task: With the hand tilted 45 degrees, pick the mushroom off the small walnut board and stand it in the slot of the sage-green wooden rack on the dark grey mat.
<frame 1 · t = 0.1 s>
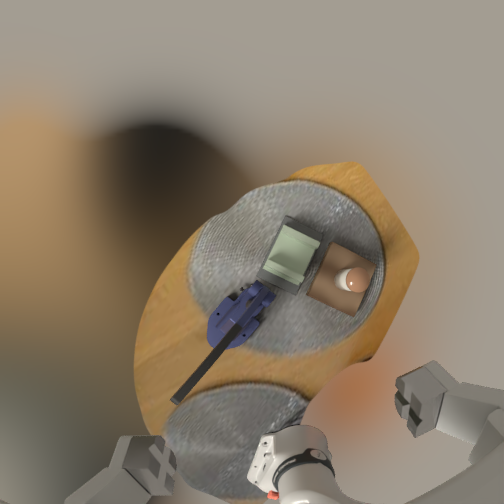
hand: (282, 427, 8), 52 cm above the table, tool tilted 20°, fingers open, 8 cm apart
rack: (290, 255, 60), resting on mat
board: (340, 279, 60), on the table
hand press: (235, 319, 60), on the table
mushroom: (343, 279, 58), point 2 cm above the table, touching board
mat: (290, 255, 61), on the table
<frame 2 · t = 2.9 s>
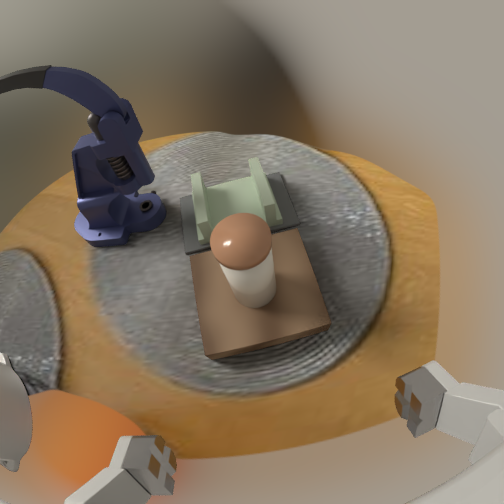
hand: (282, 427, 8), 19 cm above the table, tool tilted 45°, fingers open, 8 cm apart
rack: (235, 208, 36), resting on mat
board: (257, 297, 31), on the table
hand press: (118, 220, 39), on the table
mushroom: (254, 287, 28), point 2 cm above the table, touching board
mat: (235, 210, 37), on the table
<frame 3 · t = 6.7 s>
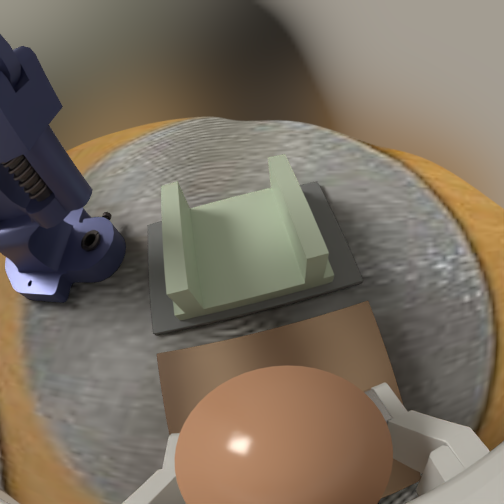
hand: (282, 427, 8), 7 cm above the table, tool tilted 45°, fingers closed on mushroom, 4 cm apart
rack: (243, 249, 20), resting on mat
board: (287, 428, 14), on the table
hand press: (59, 259, 23), on the table
mushroom: (287, 431, 12), point 3 cm above the table, touching board, gripper
mat: (243, 252, 20), on the table
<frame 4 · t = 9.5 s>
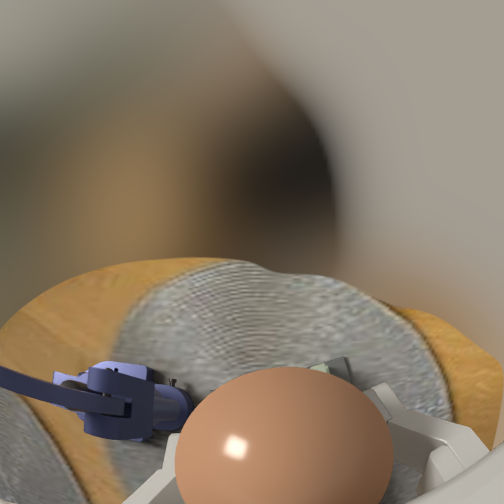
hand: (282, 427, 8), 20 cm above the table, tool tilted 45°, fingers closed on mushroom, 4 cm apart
hand press: (129, 401, 28), on the table
mushroom: (287, 432, 12), point 15 cm above the table, touching gripper
mat: (288, 417, 25), on the table
when the fingers open (8 cm above the table, at t = 12.2 s): mushroom drops 2 cm, resting on rack.
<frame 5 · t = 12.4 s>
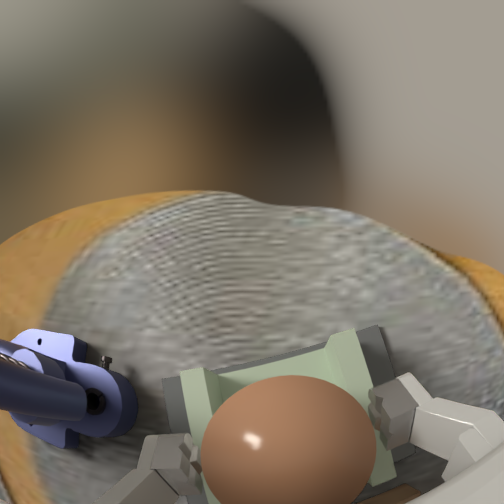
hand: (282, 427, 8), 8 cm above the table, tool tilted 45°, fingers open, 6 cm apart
rack: (287, 427, 14), resting on mat
hand press: (57, 389, 17), on the table
mushroom: (287, 430, 13), point 1 cm above the table, touching rack
mat: (288, 427, 15), on the table
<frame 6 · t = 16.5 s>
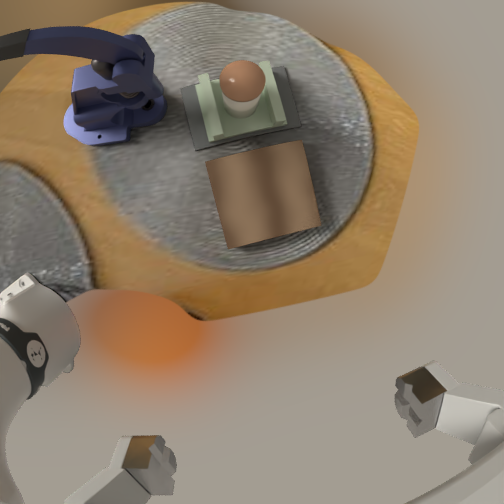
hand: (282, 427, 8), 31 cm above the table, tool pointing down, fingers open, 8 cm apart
rack: (240, 104, 34), resting on mat
board: (262, 192, 37), on the table
hand press: (113, 113, 33), on the table
mushroom: (240, 103, 33), point 1 cm above the table, touching rack
mat: (240, 105, 34), on the table
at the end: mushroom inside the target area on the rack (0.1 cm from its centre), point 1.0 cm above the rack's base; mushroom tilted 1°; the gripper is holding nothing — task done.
